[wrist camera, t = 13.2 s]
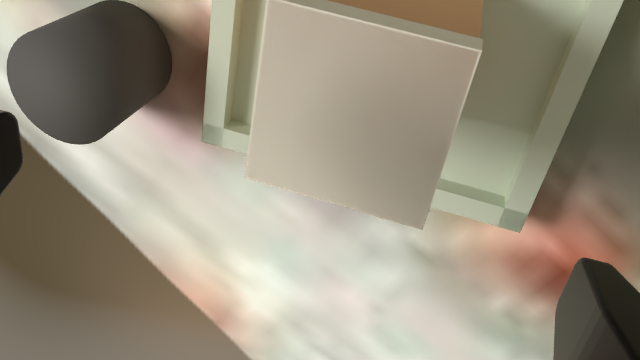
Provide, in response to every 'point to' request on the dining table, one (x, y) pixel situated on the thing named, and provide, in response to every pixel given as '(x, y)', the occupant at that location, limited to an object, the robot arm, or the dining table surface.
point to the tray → (480, 106)
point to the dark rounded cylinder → (89, 70)
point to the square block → (362, 99)
